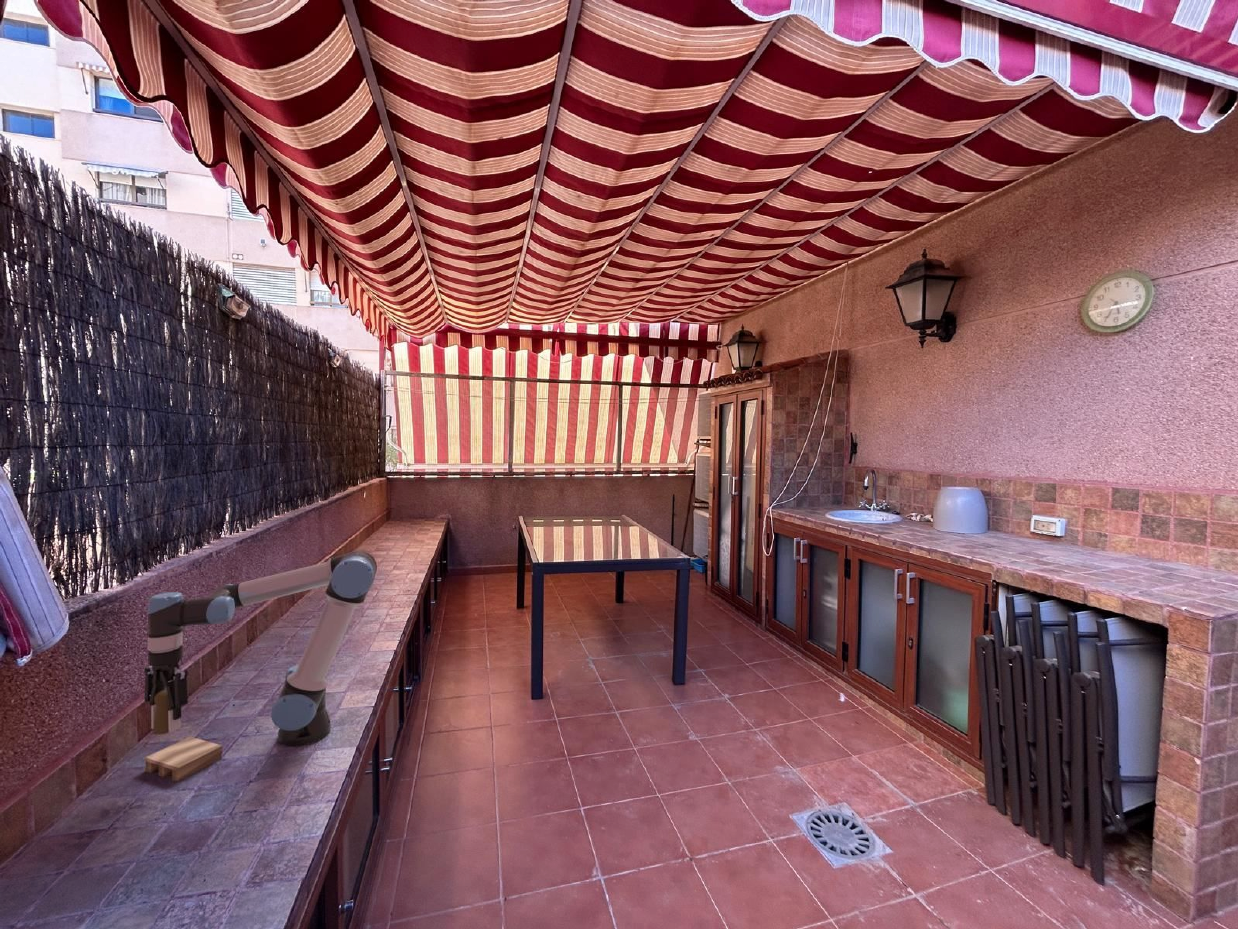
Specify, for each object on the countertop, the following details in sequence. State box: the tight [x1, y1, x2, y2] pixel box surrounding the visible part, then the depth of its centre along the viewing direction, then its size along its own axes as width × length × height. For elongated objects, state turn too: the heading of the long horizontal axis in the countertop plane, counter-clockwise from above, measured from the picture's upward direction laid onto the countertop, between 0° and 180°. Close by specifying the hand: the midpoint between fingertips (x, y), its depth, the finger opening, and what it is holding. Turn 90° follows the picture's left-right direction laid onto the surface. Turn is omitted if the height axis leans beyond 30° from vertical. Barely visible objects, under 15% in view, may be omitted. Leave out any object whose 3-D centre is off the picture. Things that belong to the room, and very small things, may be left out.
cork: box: [152, 689, 171, 736], centre depth 147 cm, size 6×6×11 cm
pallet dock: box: [144, 736, 223, 782], centre depth 153 cm, size 14×12×4 cm
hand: (166, 728), depth 147 cm, fingers closed on cork, 6 cm apart
